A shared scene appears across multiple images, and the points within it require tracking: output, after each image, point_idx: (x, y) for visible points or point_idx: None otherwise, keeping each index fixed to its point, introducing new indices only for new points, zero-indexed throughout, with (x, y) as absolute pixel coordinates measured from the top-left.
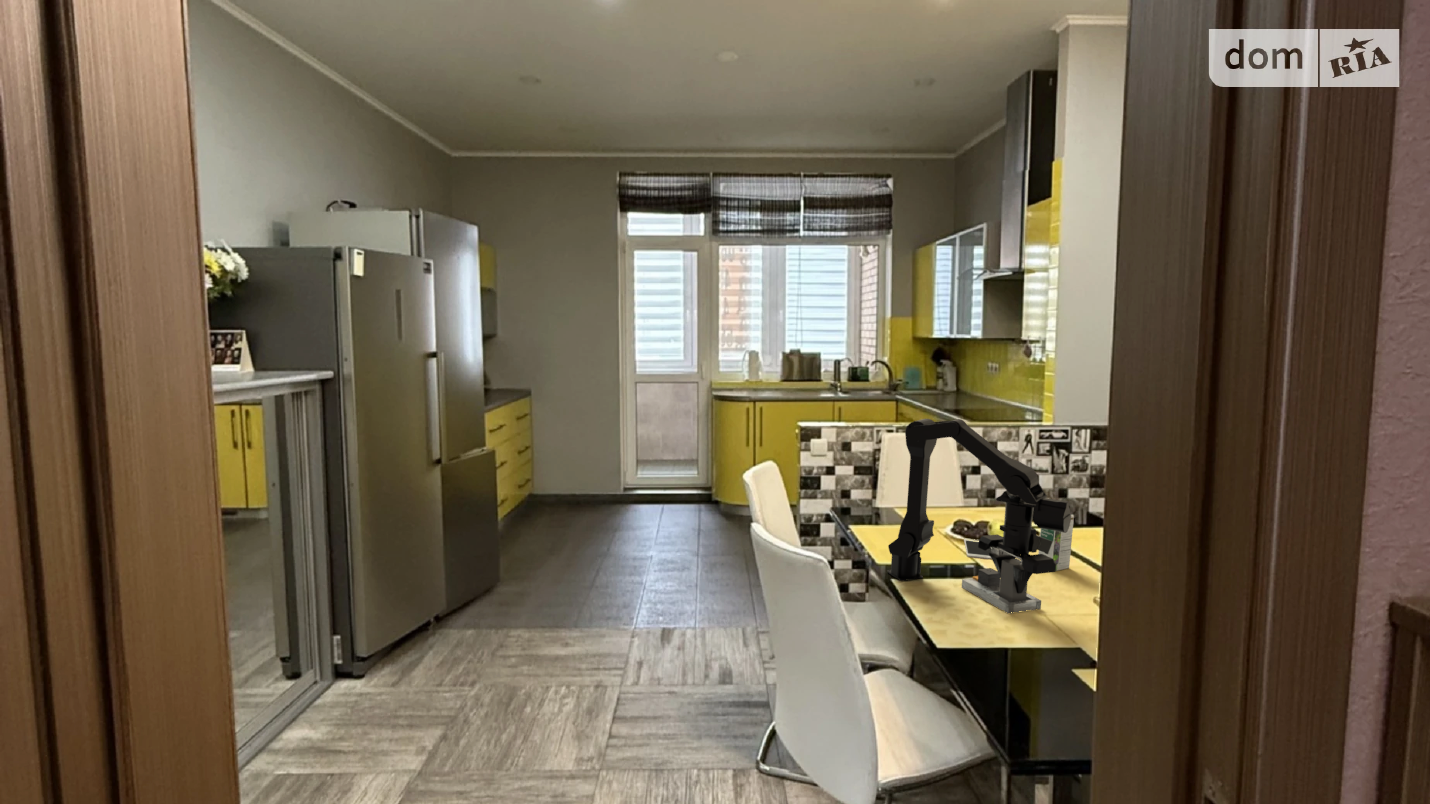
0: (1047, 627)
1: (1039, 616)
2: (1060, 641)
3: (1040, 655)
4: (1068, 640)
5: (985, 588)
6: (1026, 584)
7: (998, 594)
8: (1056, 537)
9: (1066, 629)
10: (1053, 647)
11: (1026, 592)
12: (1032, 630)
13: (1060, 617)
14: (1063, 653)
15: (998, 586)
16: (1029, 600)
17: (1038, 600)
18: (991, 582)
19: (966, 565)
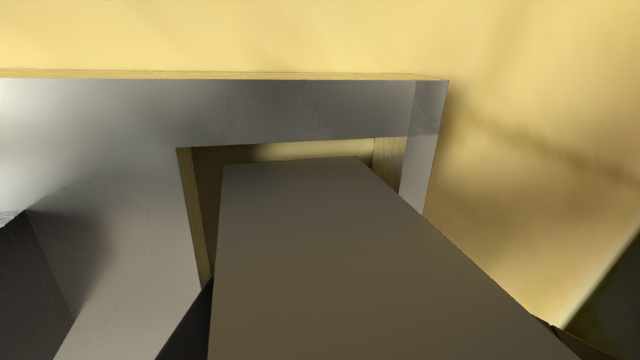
0: (541, 202)
1: (465, 158)
2: (610, 229)
3: (596, 322)
4: (628, 198)
5: (115, 345)
6: (439, 242)
7: (203, 274)
8: None
9: (599, 135)
10: (606, 271)
11: (392, 190)
12: (518, 269)
13: (533, 47)
14: (635, 266)
15: (65, 237)
16: (406, 170)
17: (436, 102)
18: (42, 326)
19: None
